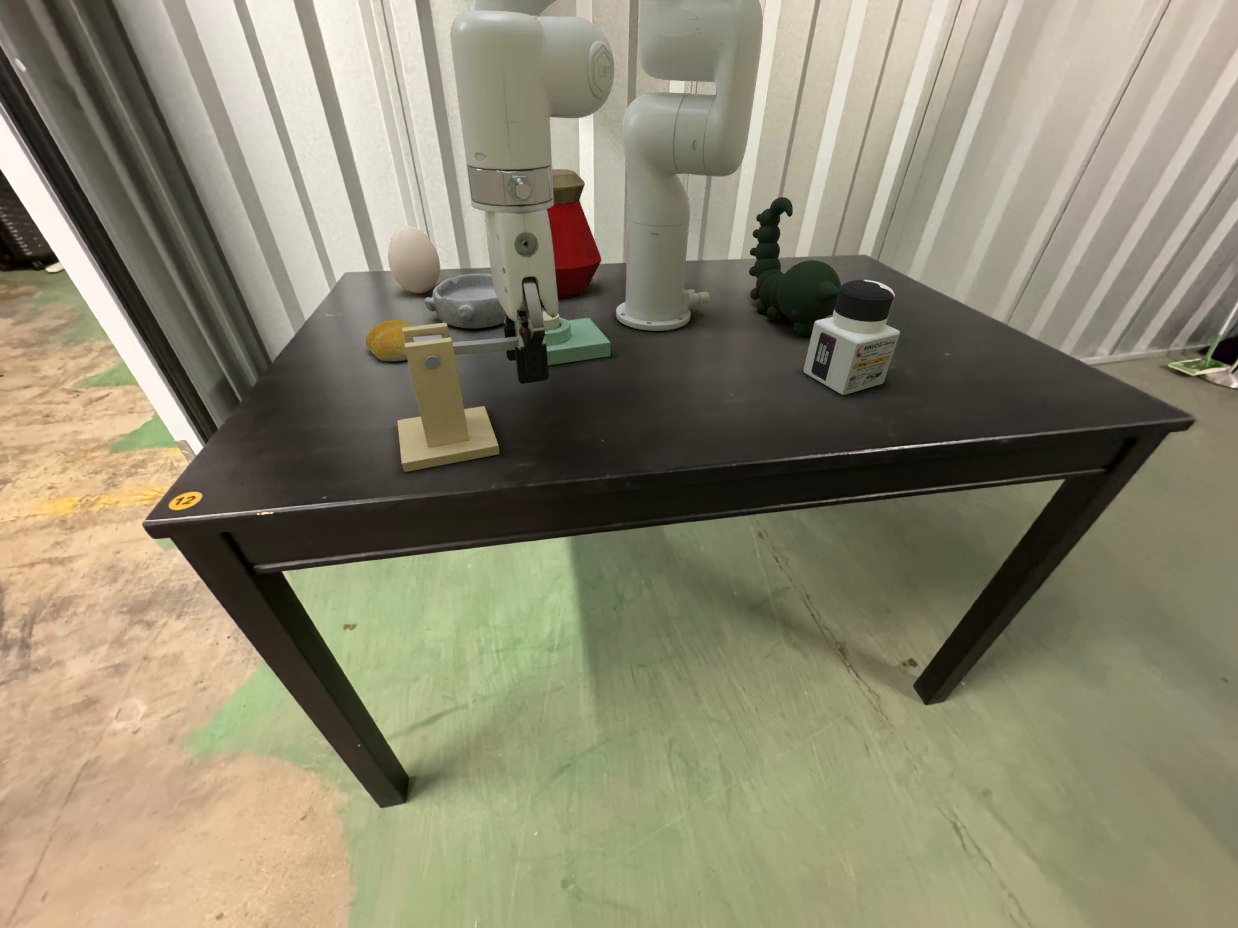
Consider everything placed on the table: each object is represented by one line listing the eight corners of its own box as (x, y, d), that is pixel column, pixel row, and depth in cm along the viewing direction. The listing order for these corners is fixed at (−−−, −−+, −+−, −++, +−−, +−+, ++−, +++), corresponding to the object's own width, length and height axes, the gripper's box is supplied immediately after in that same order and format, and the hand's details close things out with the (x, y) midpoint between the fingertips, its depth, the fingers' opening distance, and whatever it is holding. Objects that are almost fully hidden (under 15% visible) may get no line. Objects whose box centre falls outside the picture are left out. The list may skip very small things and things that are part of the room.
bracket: (485, 414, 67) (470, 312, 59) (499, 454, 60) (484, 345, 53) (399, 428, 64) (372, 323, 56) (404, 472, 57) (373, 360, 50)
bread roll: (385, 369, 76) (378, 342, 74) (361, 347, 82) (354, 322, 79) (440, 353, 81) (435, 327, 78) (414, 333, 86) (409, 309, 84)
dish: (489, 295, 101) (486, 267, 98) (536, 316, 93) (534, 287, 90) (417, 315, 92) (410, 285, 89) (461, 340, 84) (456, 308, 82)
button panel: (589, 330, 88) (589, 306, 86) (610, 356, 81) (610, 330, 78) (515, 340, 85) (512, 315, 82) (530, 368, 77) (528, 341, 75)
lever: (529, 343, 62) (528, 322, 60) (539, 361, 58) (539, 340, 56) (415, 353, 58) (411, 331, 56) (419, 373, 54) (415, 351, 53)
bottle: (587, 275, 111) (585, 163, 99) (613, 296, 101) (615, 175, 89) (511, 284, 106) (499, 167, 94) (531, 307, 96) (521, 180, 84)
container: (842, 396, 72) (871, 299, 64) (801, 372, 77) (823, 280, 70) (884, 384, 75) (916, 290, 67) (841, 362, 80) (866, 272, 73)
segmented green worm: (730, 307, 102) (800, 352, 82) (741, 195, 92) (824, 212, 72) (776, 304, 104) (856, 346, 83) (792, 193, 94) (887, 210, 74)
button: (556, 321, 82) (555, 309, 81) (562, 330, 79) (562, 318, 78) (532, 324, 81) (531, 312, 80) (538, 333, 78) (537, 321, 77)
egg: (454, 292, 102) (443, 226, 95) (412, 304, 97) (398, 235, 90) (427, 281, 106) (415, 218, 100) (386, 292, 101) (370, 226, 94)
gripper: (578, 203, 45) (583, 400, 55) (530, 171, 58) (541, 336, 68) (485, 208, 42) (508, 412, 53) (457, 174, 55) (480, 343, 66)
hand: (527, 367), depth 60 cm, fingers closed on lever, 5 cm apart
